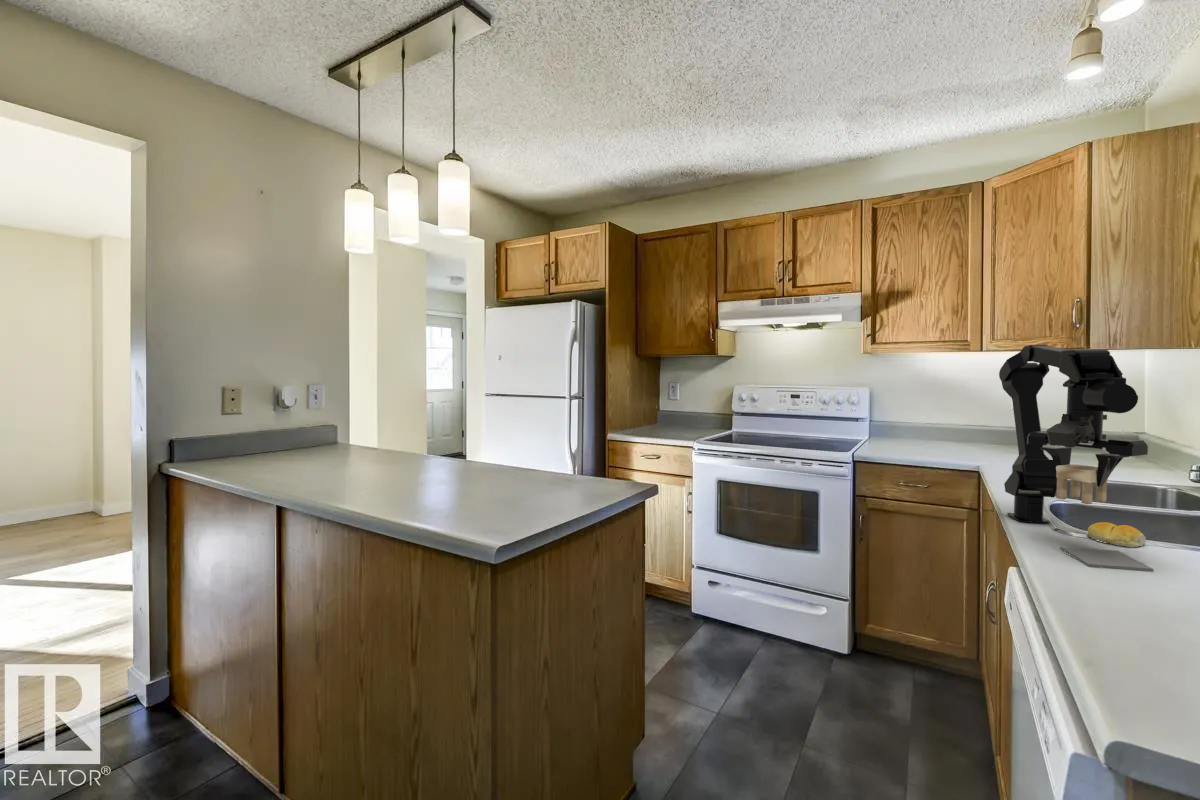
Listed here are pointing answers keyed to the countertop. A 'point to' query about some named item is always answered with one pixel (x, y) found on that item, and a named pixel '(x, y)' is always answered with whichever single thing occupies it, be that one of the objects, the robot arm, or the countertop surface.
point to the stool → (1079, 482)
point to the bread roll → (1116, 534)
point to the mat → (1106, 559)
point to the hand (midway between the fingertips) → (1081, 483)
